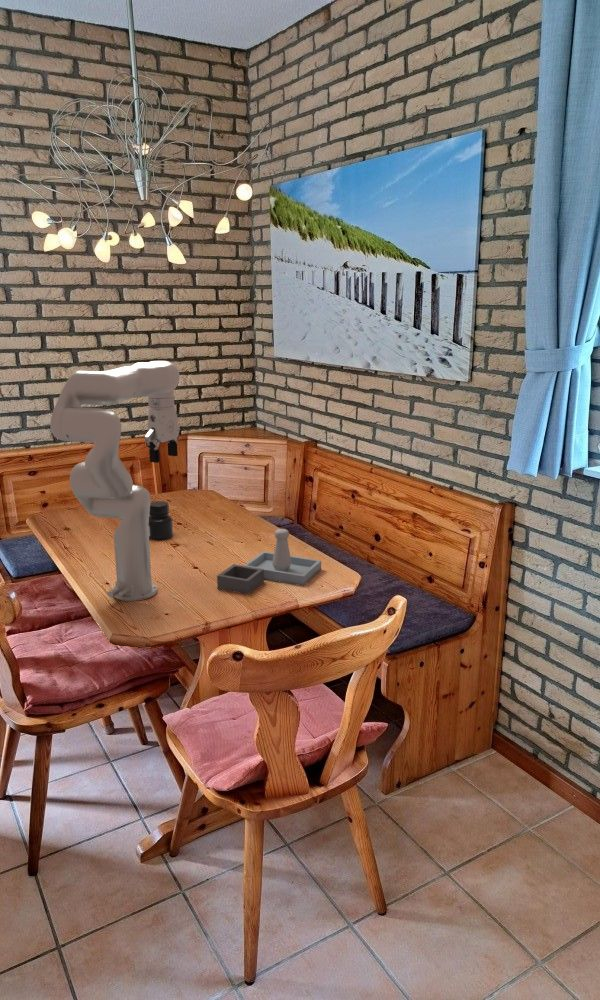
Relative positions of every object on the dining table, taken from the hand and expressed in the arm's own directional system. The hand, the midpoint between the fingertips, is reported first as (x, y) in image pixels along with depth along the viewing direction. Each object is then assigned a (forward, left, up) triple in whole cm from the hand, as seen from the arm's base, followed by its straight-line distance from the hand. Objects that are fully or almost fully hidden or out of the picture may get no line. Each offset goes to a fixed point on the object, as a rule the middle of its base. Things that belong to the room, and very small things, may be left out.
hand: (164, 458), depth 216 cm
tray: (+6, -37, -33) cm, 50 cm away
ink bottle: (+19, +16, -34) cm, 42 cm away
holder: (-8, -30, -33) cm, 46 cm away
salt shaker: (+6, -37, -33) cm, 50 cm away
